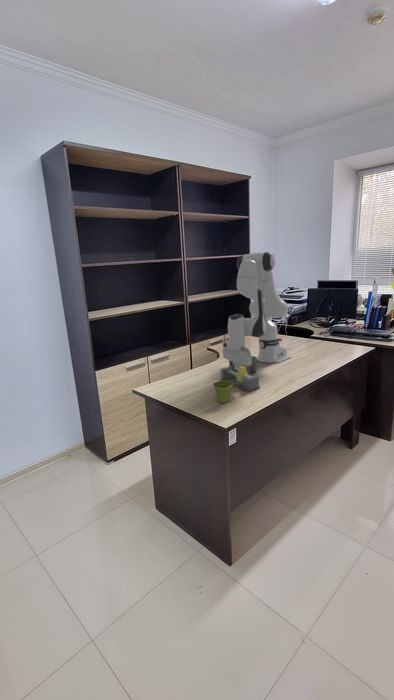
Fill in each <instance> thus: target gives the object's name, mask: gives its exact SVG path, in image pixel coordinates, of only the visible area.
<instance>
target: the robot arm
mask: <svg viewBox="0 0 394 700" xmlns="http://www.w3.org/2000/svg"><path fill="white" fill-rule="evenodd" d="M275 265H276V258H275V255H274V254H273V253H272V252H269V251H265V252H260V251H259V252H253V253H252V252H251V253H247V254H242V255H239V256H238V258H237V261H236V268H237V270H238V273H237V277H236V290H237V291H238V293H239V294H241V295H242V296H244V297H246V298H248V299H251V300H252V301H251V302H250V304H249V307H248V309H249V312H250V314H251V315H252V316H253V318H251V317H244V315H243V314H241V313H234V314H231V315H228V319H227V320H228V321H227V334H228V339H227V340H228V341H224V342H222V355H223V356H222V357H223V359H225V360H227V361H229V360H230V361H233V365H234V367H235V370H237V371H238V367H239V366H241V365H244V366H250V365H251V364H252V357H251V356H252V353H251V350H250V349H249V348H248V347H246V338H245V337H254V338H258V345H259V347H258V355H257V358H256V361H259V362H261V363H277V364H279V363H281V362H284V361H286V360H288V359H290V358H291V355H290V354H288V350H287V348H286V347H285V346H283V344H281V343H280V342H283V338H281V337H278V326H277V324H276V323H274V322H273V321H272V320H271V319H272V318H273V319H280V318H284V317H286V316H287V315H288V313H289V305H288V303H287V302H286V301H285V300H283V299H282V298H281V297H280V295H279V293H278V292H277V290H276V286H275V281H274V274H273V269H274V267H275Z"/></svg>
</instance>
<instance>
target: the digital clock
mask: <svg viewBox="0 0 394 700" xmlns="http://www.w3.org/2000/svg"><path fill="white" fill-rule="evenodd" d="M251 357H252V364H251V365H250V366H244V365H241V366H243V367H246V372H248V375H251V373H255V372H257V370H258V365H257V357H256V356H254V355H251ZM228 364H229V366H228V367H230V366H231V367H233V371H234V372H238V371H237V370H235V367H234V365H233V361H230V360H228Z"/></svg>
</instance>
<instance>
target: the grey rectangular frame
mask: <svg viewBox="0 0 394 700" xmlns="http://www.w3.org/2000/svg"><path fill="white" fill-rule="evenodd" d="M220 376H221V377H220V379H219V381H230V382H232V383H233V385H232V387H235V388H236V389H239V390H241V391H243V392H246V393H250V392H252V391H255V390H258V389H261V386H260V376H258V375H254V376H252V375H251V374H250V375H243V380H244V382H239V381H237V372H234V371H233V367H231V366H227V367H223V368H221V369H220Z"/></svg>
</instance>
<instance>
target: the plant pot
mask: <svg viewBox="0 0 394 700" xmlns="http://www.w3.org/2000/svg"><path fill="white" fill-rule="evenodd" d="M232 385H233V383H232V382H230V381H220V380H218V381H215V382H213V383H212V387H213V389H214V392H215V397H216V401H217V402H218V403H219V404H226V403H229V402H230V400H231V394H232V393H231V392H232V391H231V390H232V387H233V386H232Z"/></svg>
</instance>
